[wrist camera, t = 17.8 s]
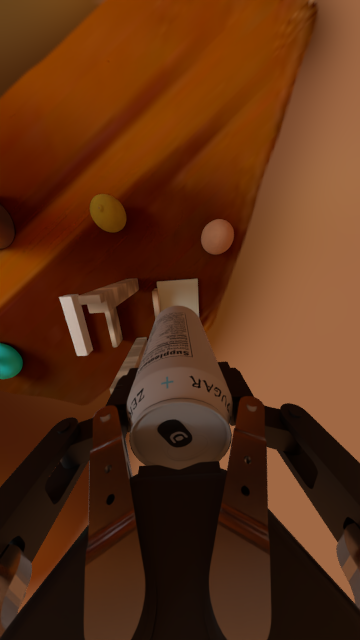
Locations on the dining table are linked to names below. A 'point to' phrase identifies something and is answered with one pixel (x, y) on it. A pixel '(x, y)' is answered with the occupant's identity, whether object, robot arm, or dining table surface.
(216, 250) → the egg
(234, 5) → the dining table surface
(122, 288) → the cradle
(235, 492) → the robot arm
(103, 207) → the lemon
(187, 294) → the coaster
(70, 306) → the bar
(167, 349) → the energy drink can
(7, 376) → the donuts
